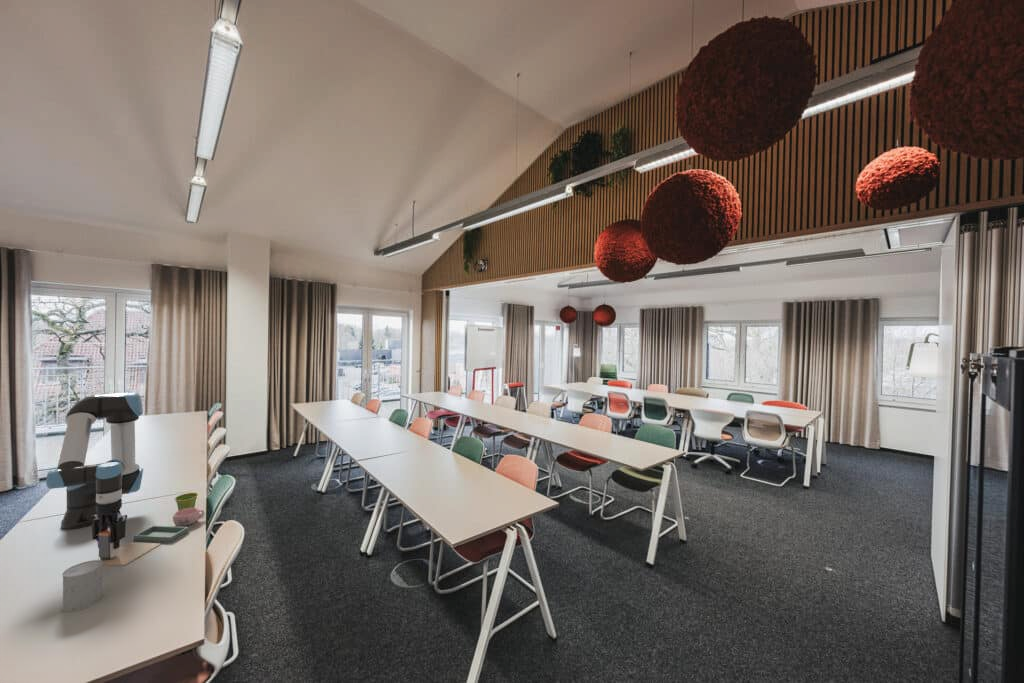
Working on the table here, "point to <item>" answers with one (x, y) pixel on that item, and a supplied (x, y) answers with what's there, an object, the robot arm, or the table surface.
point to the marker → (104, 544)
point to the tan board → (130, 553)
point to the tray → (161, 534)
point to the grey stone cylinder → (82, 585)
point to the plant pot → (186, 501)
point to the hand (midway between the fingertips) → (108, 555)
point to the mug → (186, 516)
